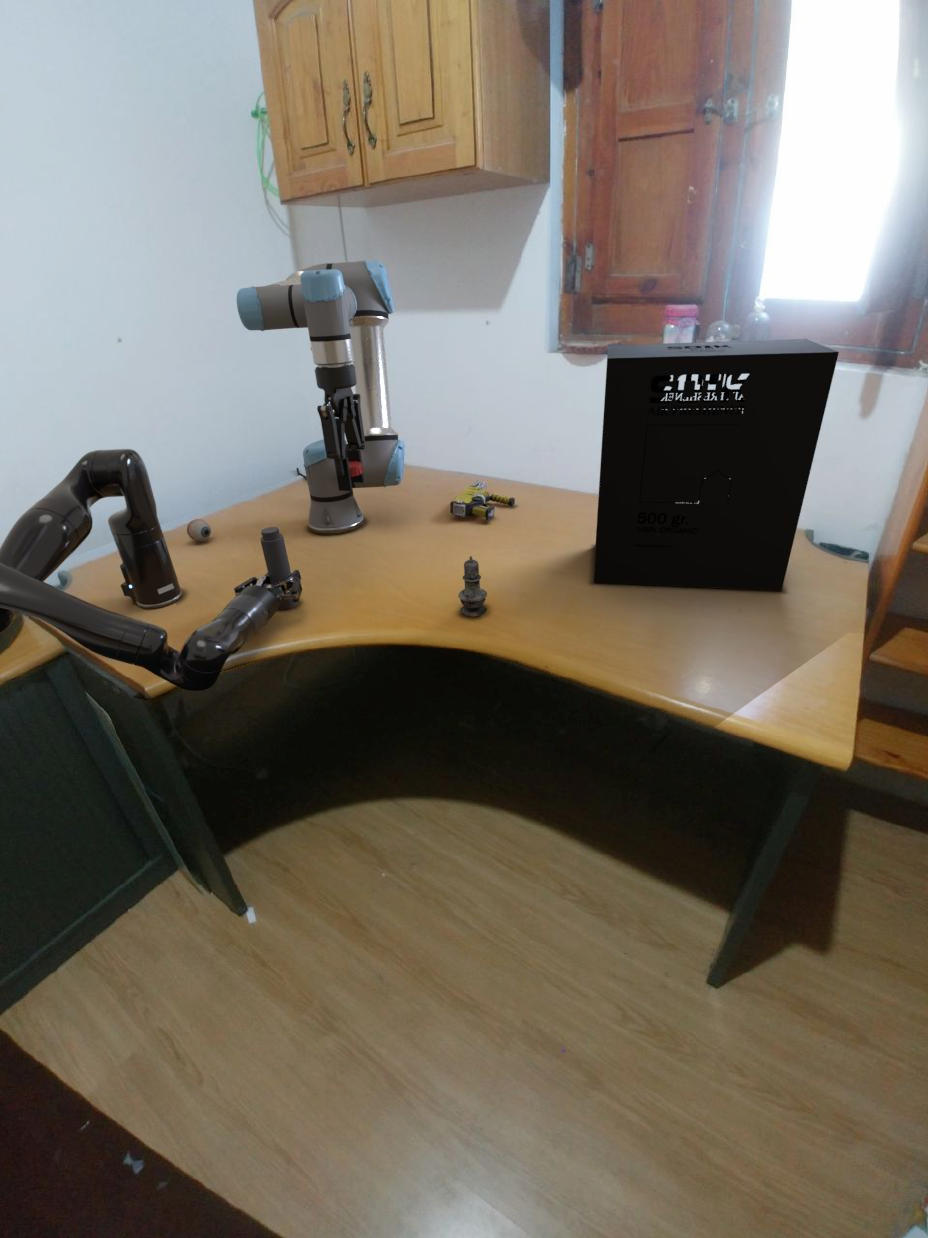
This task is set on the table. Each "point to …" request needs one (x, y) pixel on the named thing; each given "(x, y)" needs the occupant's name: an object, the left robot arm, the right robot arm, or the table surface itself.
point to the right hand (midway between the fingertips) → (352, 485)
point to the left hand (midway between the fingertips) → (286, 573)
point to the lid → (355, 468)
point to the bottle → (276, 560)
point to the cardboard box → (707, 461)
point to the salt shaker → (472, 590)
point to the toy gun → (477, 502)
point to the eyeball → (199, 530)
